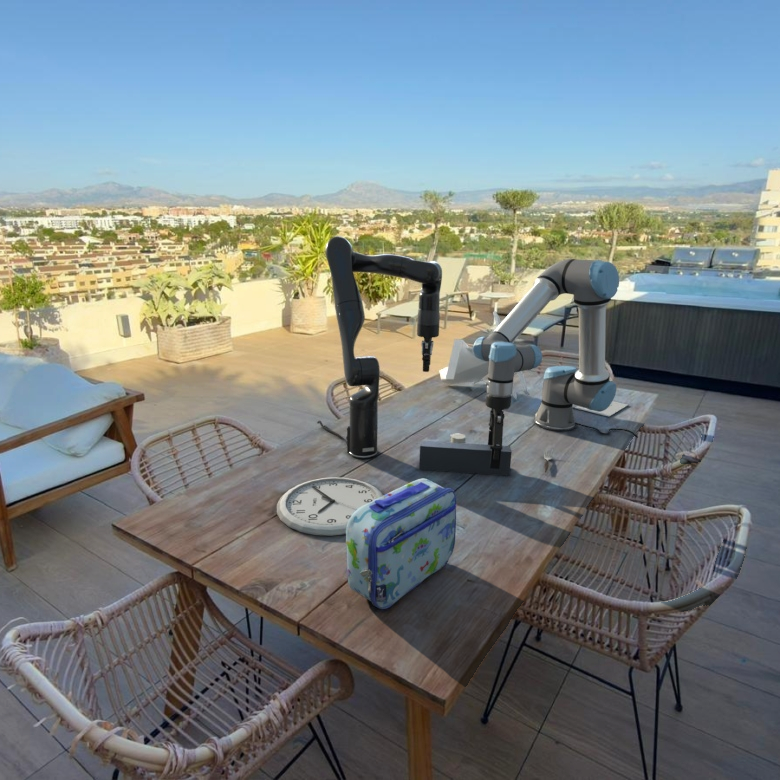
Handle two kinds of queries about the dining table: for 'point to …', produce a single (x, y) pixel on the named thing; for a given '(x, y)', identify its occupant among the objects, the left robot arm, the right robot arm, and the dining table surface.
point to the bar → (462, 458)
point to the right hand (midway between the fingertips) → (493, 458)
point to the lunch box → (400, 540)
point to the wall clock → (324, 504)
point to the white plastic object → (471, 366)
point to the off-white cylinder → (458, 438)
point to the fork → (547, 459)
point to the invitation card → (609, 411)
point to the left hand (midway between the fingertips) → (426, 368)
